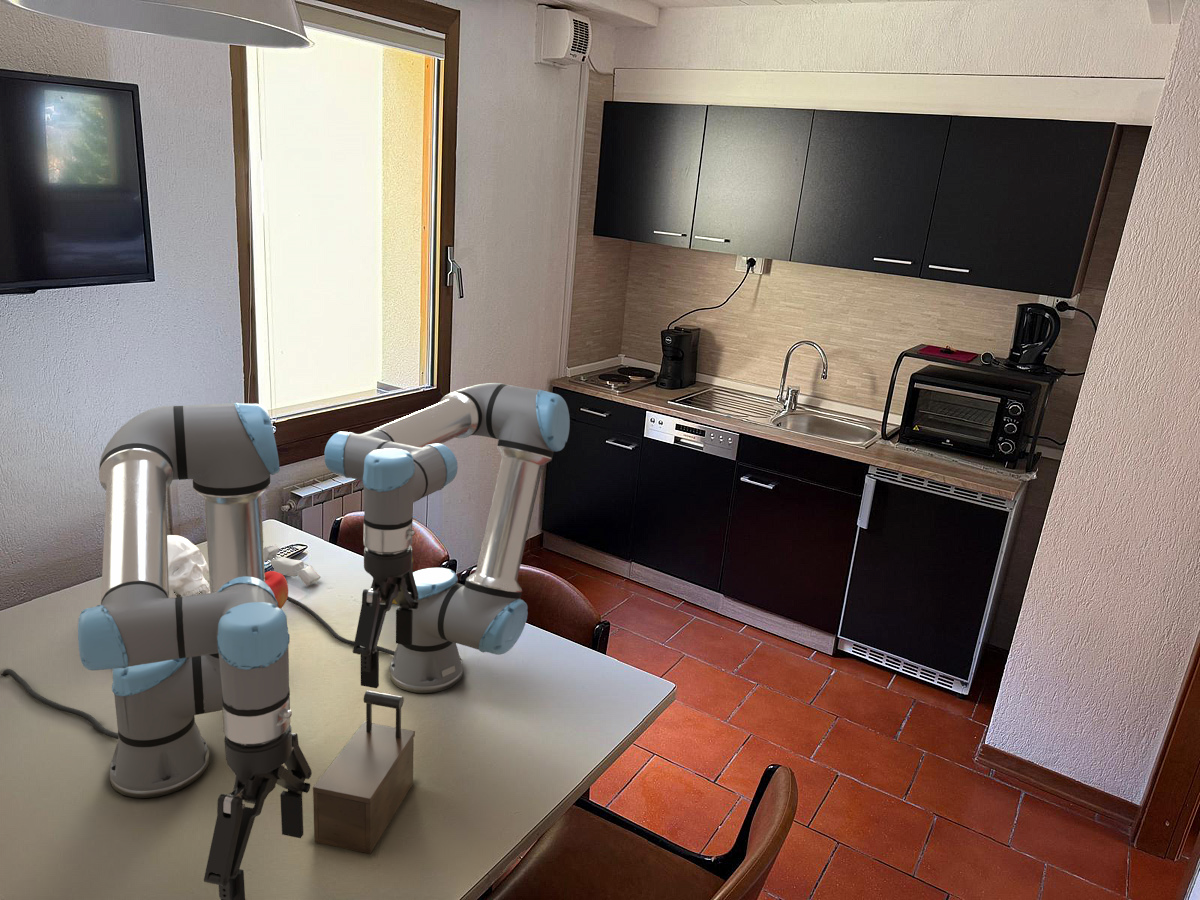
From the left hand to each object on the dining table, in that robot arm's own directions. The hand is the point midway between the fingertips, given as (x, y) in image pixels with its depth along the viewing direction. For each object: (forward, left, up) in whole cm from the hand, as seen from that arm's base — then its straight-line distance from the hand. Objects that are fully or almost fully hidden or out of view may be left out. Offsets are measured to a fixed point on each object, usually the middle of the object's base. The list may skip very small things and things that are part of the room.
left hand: (265, 872), depth 109 cm
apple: (-51, +84, -16) cm, 100 cm away
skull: (-74, +84, -16) cm, 113 cm away
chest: (-1, +30, -16) cm, 34 cm away
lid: (-1, +31, -6) cm, 31 cm away
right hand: (0, +37, +8) cm, 38 cm away
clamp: (-57, +104, -16) cm, 120 cm away
